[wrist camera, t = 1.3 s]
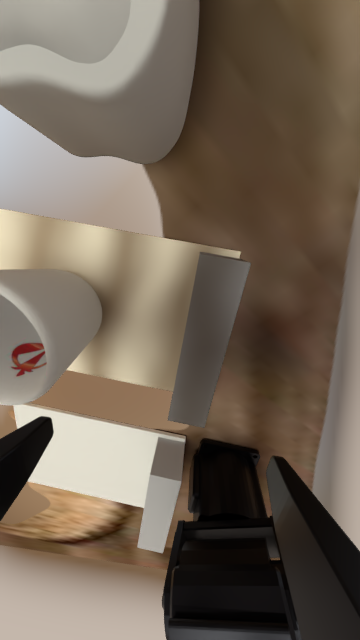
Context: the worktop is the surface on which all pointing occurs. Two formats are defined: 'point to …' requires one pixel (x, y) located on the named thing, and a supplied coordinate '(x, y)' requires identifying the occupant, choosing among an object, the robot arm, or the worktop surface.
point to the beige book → (141, 303)
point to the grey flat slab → (112, 465)
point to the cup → (42, 329)
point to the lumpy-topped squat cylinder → (100, 72)
